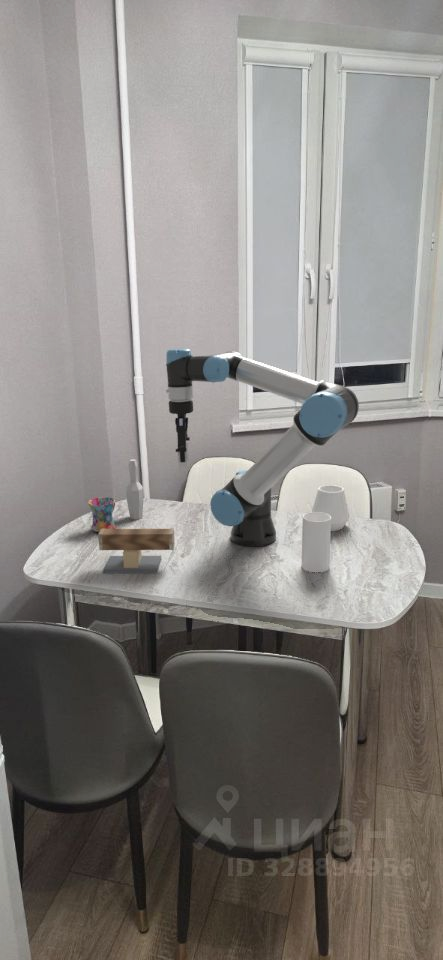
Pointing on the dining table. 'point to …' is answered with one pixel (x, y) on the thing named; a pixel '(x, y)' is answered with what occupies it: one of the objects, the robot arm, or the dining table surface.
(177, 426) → the robot arm
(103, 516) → the mug
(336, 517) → the white tapered vase
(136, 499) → the low poly bottle
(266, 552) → the dining table surface
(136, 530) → the beam
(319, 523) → the cup
